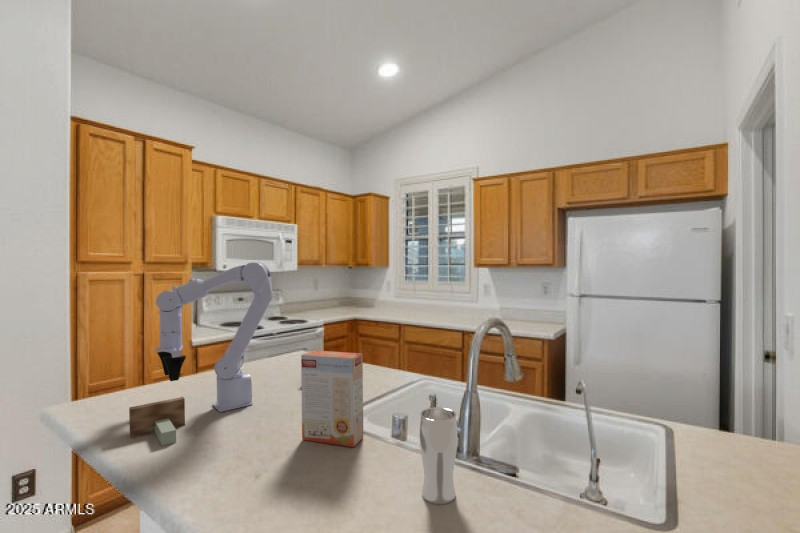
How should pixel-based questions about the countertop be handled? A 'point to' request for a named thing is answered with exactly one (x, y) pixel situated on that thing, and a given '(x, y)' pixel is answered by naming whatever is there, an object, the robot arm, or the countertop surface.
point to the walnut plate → (156, 415)
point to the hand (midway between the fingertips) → (171, 377)
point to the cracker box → (332, 397)
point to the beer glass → (438, 453)
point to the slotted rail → (165, 431)
